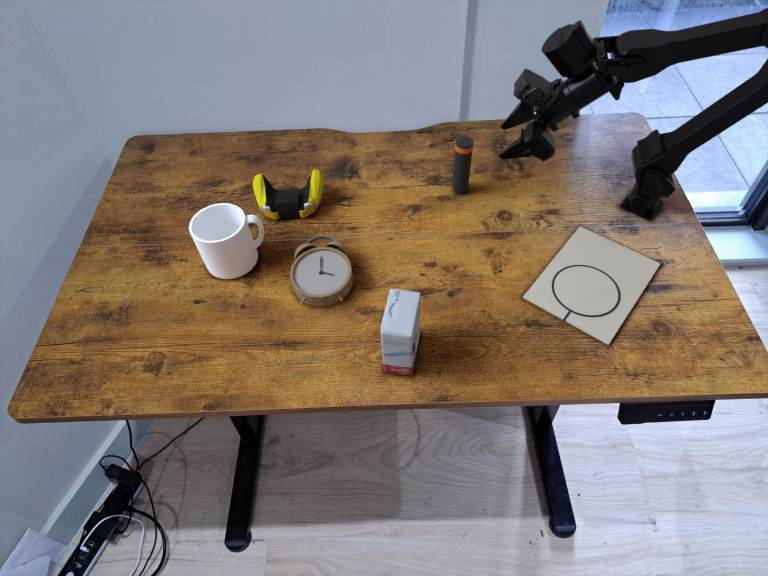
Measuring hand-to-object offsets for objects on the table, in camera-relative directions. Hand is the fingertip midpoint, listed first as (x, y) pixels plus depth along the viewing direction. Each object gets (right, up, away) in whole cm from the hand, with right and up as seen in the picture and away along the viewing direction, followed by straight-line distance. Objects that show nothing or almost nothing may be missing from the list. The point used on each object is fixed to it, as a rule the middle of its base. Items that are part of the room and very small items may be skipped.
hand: (501, 142), depth 98 cm
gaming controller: (-42, -10, +11) cm, 45 cm away
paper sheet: (+15, -27, -5) cm, 31 cm away
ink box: (-19, -39, -13) cm, 45 cm away
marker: (-6, -7, +11) cm, 15 cm away
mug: (-51, -22, +2) cm, 55 cm away
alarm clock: (-34, -26, -2) cm, 43 cm away
